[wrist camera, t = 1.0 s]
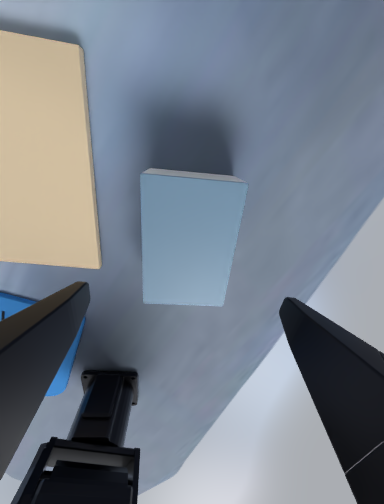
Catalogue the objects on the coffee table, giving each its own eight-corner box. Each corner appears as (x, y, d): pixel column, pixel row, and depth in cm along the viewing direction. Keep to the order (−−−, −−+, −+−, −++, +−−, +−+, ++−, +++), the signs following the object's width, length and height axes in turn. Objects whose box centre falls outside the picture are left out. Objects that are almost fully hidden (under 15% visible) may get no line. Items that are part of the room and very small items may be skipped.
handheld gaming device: (-14, 389, 23) (-15, 295, 17) (-6, 379, 24) (-5, 287, 18) (61, 401, 25) (83, 320, 19) (65, 392, 26) (88, 312, 20)
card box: (214, 276, 19) (222, 306, 15) (150, 273, 18) (143, 303, 15) (232, 175, 15) (248, 183, 11) (150, 167, 14) (140, 173, 11)
